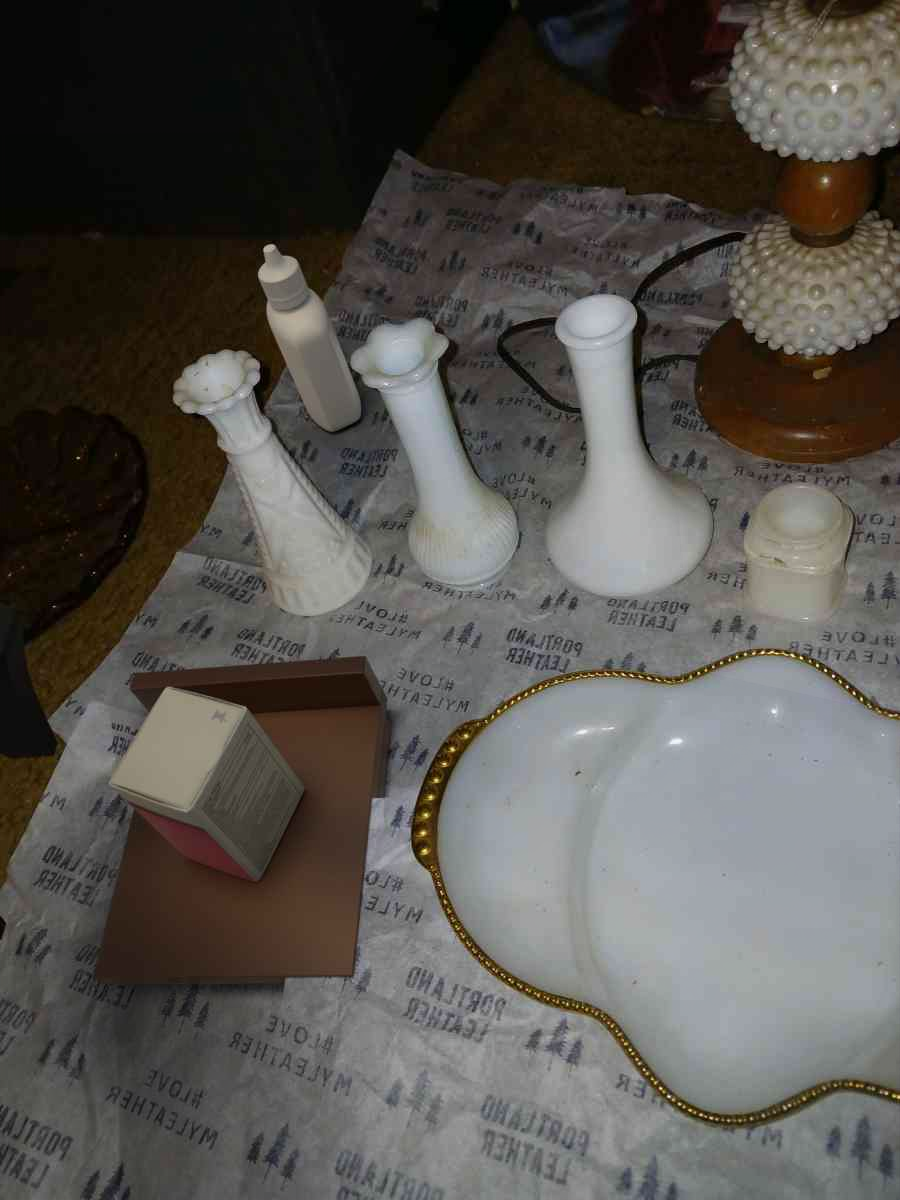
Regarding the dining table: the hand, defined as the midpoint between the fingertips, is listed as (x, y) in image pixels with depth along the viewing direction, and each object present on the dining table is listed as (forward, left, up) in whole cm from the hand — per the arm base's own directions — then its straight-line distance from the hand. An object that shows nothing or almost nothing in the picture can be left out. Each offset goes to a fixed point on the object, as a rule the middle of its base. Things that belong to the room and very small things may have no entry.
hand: (8, 836), depth 42 cm
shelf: (+4, -6, -10) cm, 13 cm away
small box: (+4, -6, -9) cm, 11 cm away
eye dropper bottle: (+34, -6, -11) cm, 36 cm away
